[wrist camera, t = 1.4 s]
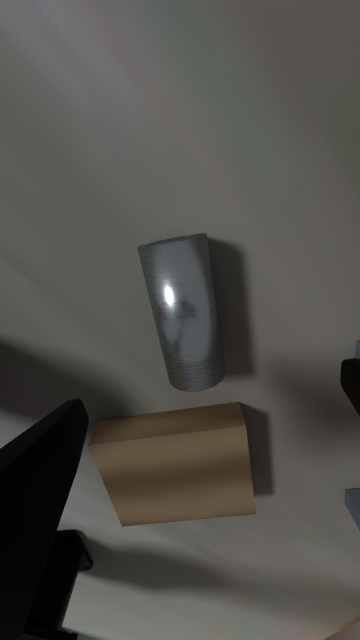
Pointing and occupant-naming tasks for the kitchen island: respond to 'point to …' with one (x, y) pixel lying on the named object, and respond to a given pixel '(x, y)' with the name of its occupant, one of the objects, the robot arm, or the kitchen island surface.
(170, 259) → the roller
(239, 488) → the slab
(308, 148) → the kitchen island surface
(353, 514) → the stop cradle
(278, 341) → the kitchen island surface
